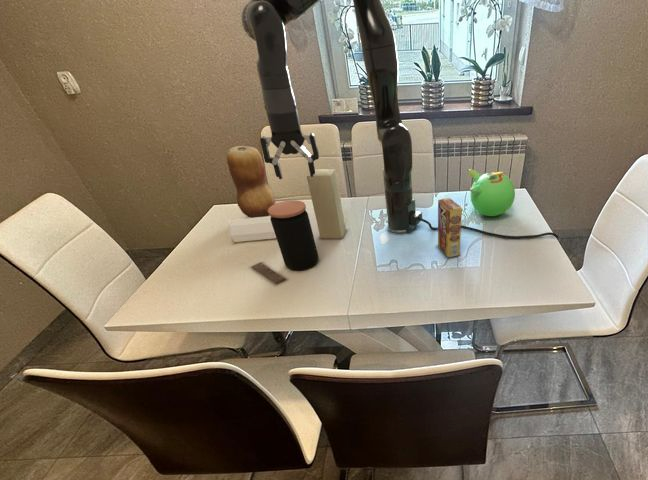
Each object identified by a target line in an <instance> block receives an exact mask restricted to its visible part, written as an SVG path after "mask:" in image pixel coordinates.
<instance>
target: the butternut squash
mask: <svg viewBox="0 0 648 480" xmlns="http://www.w3.org/2000/svg"><path fill="white" fill-rule="evenodd" d="M263 160H264V159H263V157H262V154H261V153H260V151H259V150H258V149H257V148H256V147H254V146H246V145H236V146H233V147H231V148H229V150H227V153H226V161H227V166H228V171H229V174H230V176H231V179H232V182H233V185H234V186H235V189H236V202H237V206H238V208H239V210H240V211H241V213H242V214H244V216H246V217H247V218H255V217H266V216H270V215H269V213H268V208H269V207H271V206H272V205H274V204H276V198H275V195H274V193H273V192H272V189H271V188H270V187H269V185H268V182H267V177H266V170H265V169H266V167H265V164H264V161H263Z"/></svg>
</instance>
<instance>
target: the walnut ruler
mask: <svg viewBox="0 0 648 480" xmlns="http://www.w3.org/2000/svg"><path fill="white" fill-rule="evenodd" d="M251 267H252V268H253V270H256V271H257V272H258V273H259V274H262V275H263V276H264V277H266V278H267V279H268V280H270V281H271V282H273V283H275V284H276V285H278V284H280V283H282V282H284V281H286V278H285V277H283V276H282V275H280V274H279V273H277V272H276V271H274V270H272V269H271V268H270V267H268V266H267V265H265V264H264V263H262V262H258V263H256V264H254V265H252V266H251Z"/></svg>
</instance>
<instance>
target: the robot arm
mask: <svg viewBox="0 0 648 480" xmlns="http://www.w3.org/2000/svg"><path fill="white" fill-rule="evenodd" d="M321 1H322V0H250V1H248V2H247V3H246V4H245V5H244V7H243V9H242V11H241V25H242V27H243V30H244V32H245V33H246V35H247V36H248V37H249V38H250V39H251V40H253V41H255V44H256V50H257V55H258V59H257V60H256V70H257V74H258V79H259V83H260V87H261V91H262V99H263V103H264V109H265V112H266V116H267V120H268V124H269V128H270V129H269V130H270V133H271V136H265V135H262V136H261V137H260V139H259V141H260V146H261V150H262V155H263V160H264V163H266V164H270V165H272V166H273V170H274V174H275V176H276V178H278V179H279V180H283V172H282V169H281V164H280V162H279V159H280V157H281V155H282V154H284V156H287V155H291V154H292V155H298V154H300V155H301V156H302V157H303V158H304V159H305V160H307V166H308V171H309V173H310V176H311V177H313V174H315V169H316V168H315V164H314V162H315V161H316V160H319V158H320V152H319V149H318V144H317V140H316V136H315V134H314V132H310V133H309V134H304V133H303V132H302V128H301V127H302V126H301V123H300V118H299V117H300V116H299V113H298V107H297V103H296V97H295V94H294V90H293V87H292V83H291V78H290V73H289V69H288V63H287V60H288V59H287V57H288V56H287V38H286V31H285V26H287V25H288V24H289V23H292V22H295V21H298V20H300V19H301V18H303V16H305V15H306V14H307V13H309V12H310V11H311V10H312V9H313V8H314V7H316V5H318V4H319V3H321ZM352 2H353V8H354V13H355V14H354V15H355V18H356V24H357V29H358V35H359V40H360V47H361V52H362V59H363V63H364V64H363V65H364V67H365V73H366V77H367V82H368V86H369V91H370V93H371V97H372V101H373V106H374V107H373V108H374V115H375V125H376V126H375V127H376V137H377V142H378V145H379V146H380V148H381V150H382V160H383V170H382V178H383V187H384V197H385V205H386V206H385V207H386V216H387V217H386V218H387V220H386V221H387V228H388V231H389V232H390V233H393V234H410V233H411V232H412V231H413V230H415V228H416V227H417V226H418V225H419V224H420V223H421V222H423V223H425V224H427V225H428V227H429V229H431V230H432V231H438V227H433V226H432V224H431V222H430V221H428V220H427V219H424V218H423V211H419V210H417V209H416V199H414V198H413V181H412V172H413V142H412V136H411V133H410V132H409V130H408V128H407V127H406V126H404V123H403V120H402V116H401V111H400V105H399V98H398V87H399V59H398V51H397V45H396V37H395V33H394V30H393V28H392V24H391V21H390V19H389V17H388V15H387V13H386V11H385V8H384V7H383V4H382V2H381V0H352ZM305 141H307V143H308V144H309V145H311V150H312V153H313V154H311V153H310V152H309V151H308V150H307V149H306V147H305V146H304V143H305ZM271 143H272V144H273V145H274V147H276V151H275V154H274V156H273V157H272V156H271V153H270V150H269V147H270V146H271ZM461 229H465V230H470V231H473V232H477V233H480V234H484V235H488V236H493V237H497V238H504V239H513V240H514V239H535V238H540V237H545V236H553V237H555V238H556V239H559V238H560V237H559V235H558V234H557V233H554V232H550V231H549V232H543V233H539V234H533V235H532V234H530V235H529V234H528V235H507V234H499V233H494V232H490V231H485V230H482V229H478V228H475V227H470V226H466V225H462V224H461Z"/></svg>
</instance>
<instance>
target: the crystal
mask: <svg viewBox="0 0 648 480" xmlns="http://www.w3.org/2000/svg"><path fill="white" fill-rule="evenodd" d="M270 218H271V216H270V215H269V216H266V217H255V218H250V217H245V218H237V219H236V218H235V219H229V222H228V226H227V233H228V235H229V237H230V238H231V239H232V241H233V242H234V243H239V242H250V241H261V240H270V239H277V238H276V235H275V232H274V229H273V226H272V223H271V220H270Z"/></svg>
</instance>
